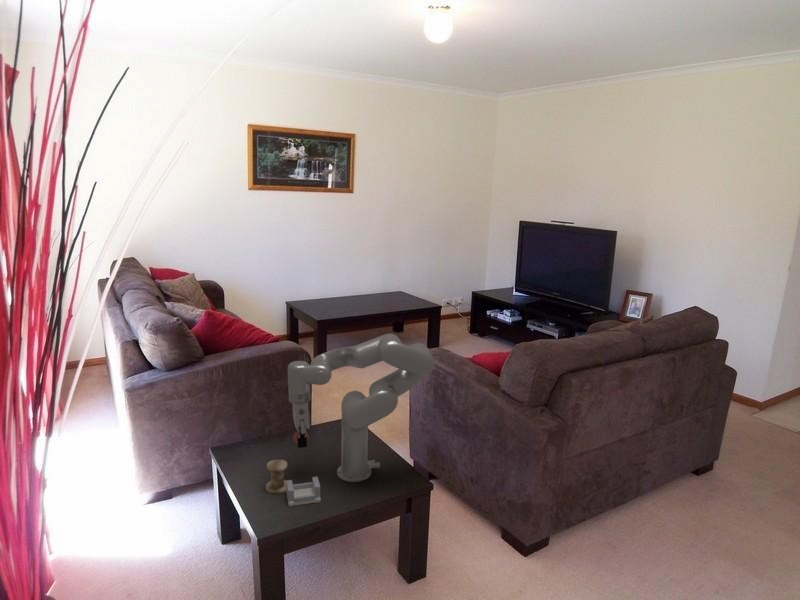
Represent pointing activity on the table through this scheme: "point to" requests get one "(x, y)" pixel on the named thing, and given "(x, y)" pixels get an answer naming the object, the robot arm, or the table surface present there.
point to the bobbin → (276, 476)
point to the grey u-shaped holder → (303, 492)
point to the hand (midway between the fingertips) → (301, 442)
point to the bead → (297, 436)
